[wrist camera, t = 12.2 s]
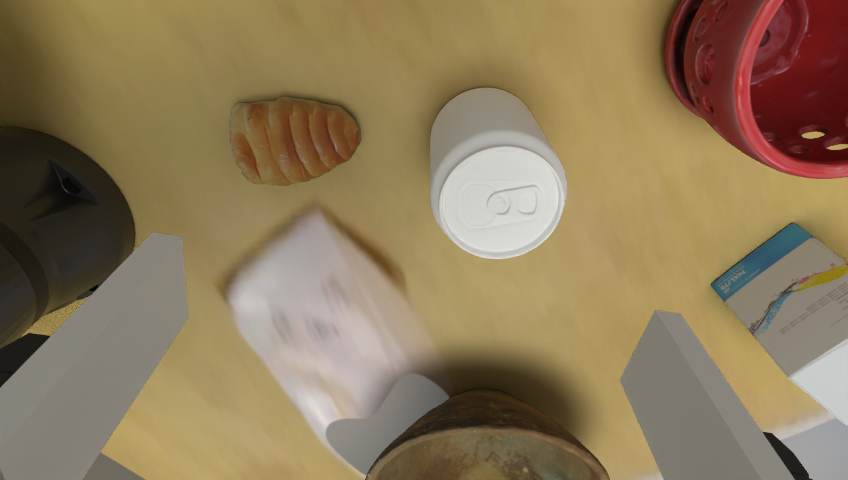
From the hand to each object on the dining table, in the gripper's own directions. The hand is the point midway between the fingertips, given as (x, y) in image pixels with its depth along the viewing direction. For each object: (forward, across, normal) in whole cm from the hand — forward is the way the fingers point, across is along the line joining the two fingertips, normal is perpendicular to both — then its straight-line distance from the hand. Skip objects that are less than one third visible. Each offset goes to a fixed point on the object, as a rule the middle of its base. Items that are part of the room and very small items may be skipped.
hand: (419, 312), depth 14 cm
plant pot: (+27, +21, +8) cm, 35 cm away
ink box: (+27, +34, -11) cm, 45 cm away
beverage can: (+27, +5, -3) cm, 28 cm away
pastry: (+27, -10, -5) cm, 29 cm away
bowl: (+27, +12, -34) cm, 45 cm away
